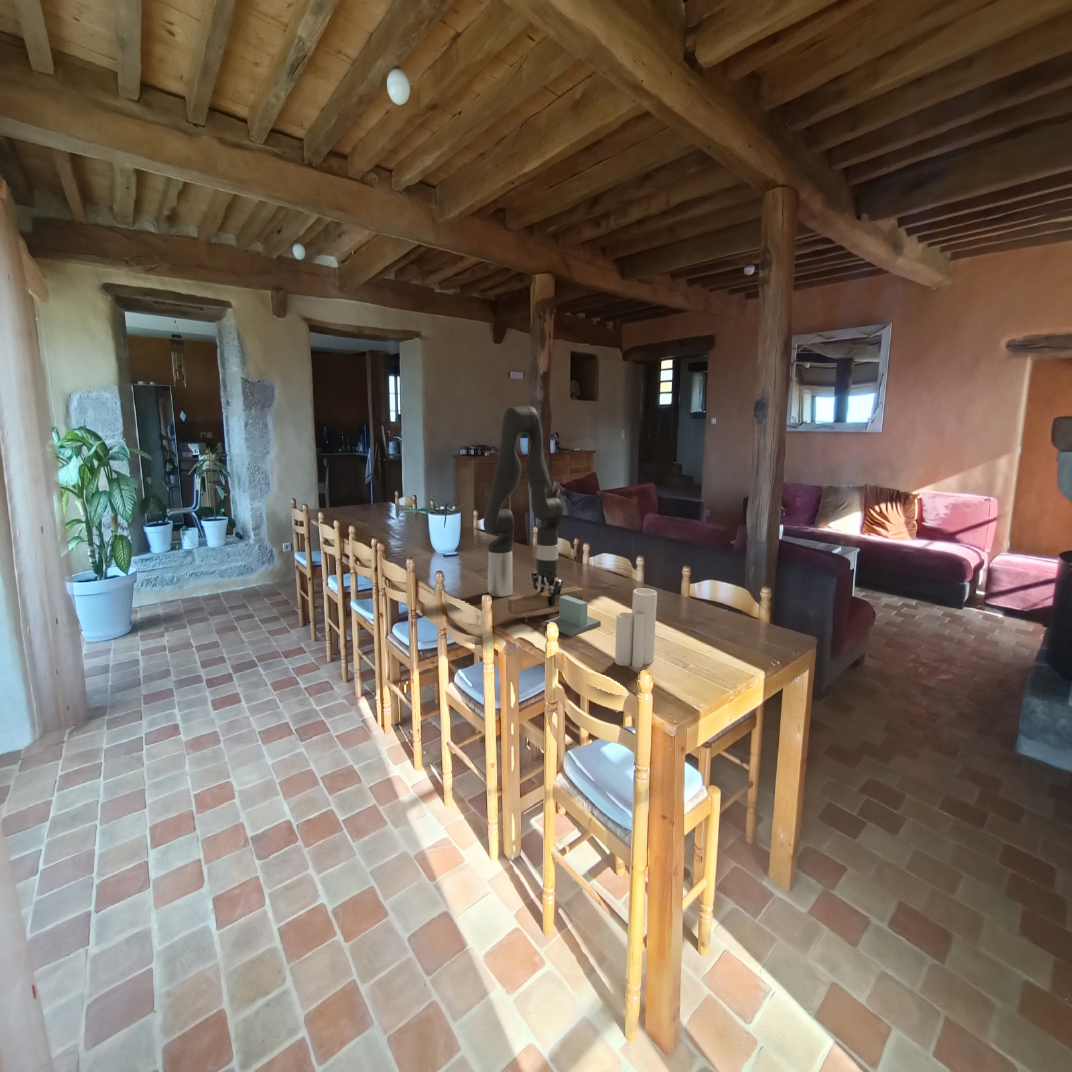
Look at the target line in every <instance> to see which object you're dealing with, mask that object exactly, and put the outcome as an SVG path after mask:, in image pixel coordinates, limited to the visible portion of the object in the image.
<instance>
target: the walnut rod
mask: <svg viewBox="0 0 1072 1072" xmlns="http://www.w3.org/2000/svg"><path fill="white" fill-rule="evenodd" d="M551 591H552V590H551ZM552 592H553V591H552ZM565 595H567V596H570V597H573V598H576V599H579V600H582V601H584V588H581V587H580V586H577V585H575V586H571V587H564V588H561V592H560V595H557V596H555V605H554V606H552V607H550V606H548V600H549V593H548V590H546V591H544V592H542V593H538V592H537V593H532V594H525V595H519V596H514V597H508V600H507V602H508V603H507V611H508V612H509V613H511V614H512V615H513V616H515V615H520V614H524V613H530V612H535V611H539V610H541V611H542V610H544V609H545V610H547V609H551V608H557V607H559V597H561V596H565Z"/></svg>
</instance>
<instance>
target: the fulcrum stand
mask: <svg viewBox="0 0 1072 1072" xmlns="http://www.w3.org/2000/svg"><path fill="white" fill-rule="evenodd" d="M588 605H589V603H588V602H586V601H584V600H583V601H582V600H579V599H576V598H573V597H570V596H567V595H565V596H561V597H559V606H558V613H559V614H558V616H557V617H554V618H551V619H547V620H545V621H544V626H545V627H547V624H549V622H555V623H556V624H557V626H558V628H559V631H558V633H561V632H562V633H561V634H564V635H566V636H569V637H573V636H576V635H579V634H581V633H584V632H587V631H590V630H593V629H595V627H596V628H599V627H601V622H602V621H601V620H600V619H596V618H593V617H590V616H588ZM592 628H593V629H592ZM586 630H587V631H586Z"/></svg>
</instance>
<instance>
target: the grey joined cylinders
mask: <svg viewBox="0 0 1072 1072" xmlns="http://www.w3.org/2000/svg"><path fill="white" fill-rule="evenodd" d="M657 597H658V592H657V591H656V590H654V589H653V588H652V589H651V588H644V587H642V588H635V589H633V590H632V609H631V612H627V611H626V612H625V611H624V612H623V611H622V612H618V613H616V621H615V622H616V624H615V625H616V626H615V627H616V628H615V654H614V655H615V657H614V660H615V661H614V663H615V664H616V665H618V666H623V667H624V666H625V667H627V666H632V667H633V668H635V669H640V668H643V665H644V666H645V665H651V664H653V663H654V657H655V655H654V654H655V640H656V639H655V638H656V637H655V636H656V620H657V619H656V618H657V601H658V600H657V599H658V598H657Z"/></svg>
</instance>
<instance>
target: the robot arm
mask: <svg viewBox="0 0 1072 1072" xmlns="http://www.w3.org/2000/svg"><path fill="white" fill-rule="evenodd" d="M541 429H542V428H541V423H540V417H539V414H538V412H537V410H536V408H535V407H534V406H531V405H521V406H520V405H519V406H510V407H508V408H507V409H506V410H505V411H504V414H503V417H502V426H501V435H500V443H499V450H498V451H499V452H498V456H497V460H496V465H495V470H494V473H493V474H494V476H493V481H492V485H491V491H490V495H489V498H488V502H487V505H486V508H485V511H484V515H483V523H482V524H483V530H484V532H485V533H486V534H487V535H499V536H498V537H497V538H496V539H495V540H493V541H491V542H489V543H488V548H487V549H488V553H487V554H488V568H487V592H488V594H489V595H490V596H491V597H498V598H499V597H501V598H502V597H509V596H511V595H513V592H514V591H513V585H514V584H513V583H514V582H513V581H514V580H513V545H514V535H515V533H514V532H515V531H514V530H515V518H514V514H513V512H512V510H511V509H509V508H503V509H501V508H502V506H503V504H505V501H506V500H507V499H508V498H509V497H510V496H511V495H512V494H513V493H514V492H515V491H516V489H517V487H518V485H519V483H520V479H521V475H522V469H523V468H522V462H521V461H520V458H519V456H518V454H517V451H516V445H517V442H516V441H517V438H518V435H527V439H528V442H529V451H528V456H527V460H526V474H527V475H526V476H527V479H528V482H529V485H530V489H531V490H530V491H531V492H530V493H531V497H530V498H531V511H532V513H533V516H534V517H535V518H536V519H537V520H539V521H543V522H544V523H543V524H542V525H540V526H539V527H538V529H537V532H536V549H535V569H536V571H533V572H531V573H530V575H531V579H532V584H533V589H534V590H536V592H537V593H542V592H545V589H546V591H548V593H549V600H548V606H550V607H551V608H553V607H552V606H554V605H555V596H557V595H560V592H561V589H563V588H562V587H563V583H564V580H563V579H559V578H558V576H557V571H558V570H559V546H558V545H559V541H558V540H559V530H560V527H561V523H562V520H563V519H562V518H563V514H564V507H563V504H562V501H561V500H560V499H559V498H558V497H549V498H547V492H548V491H550V490H551V489H552V486H553V485H552V480H551V478H550V473H549V471H548V467H547V464H546V463H547V462H546V459H545V454H544V453H545V451H544V447H543V444H544V443H543V437H542V430H541ZM552 591H553V592H552Z"/></svg>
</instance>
